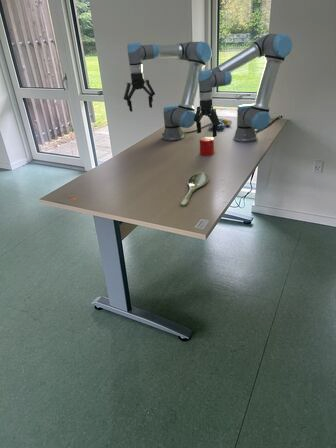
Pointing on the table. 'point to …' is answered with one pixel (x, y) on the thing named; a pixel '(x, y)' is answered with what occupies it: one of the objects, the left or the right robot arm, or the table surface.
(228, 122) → the spray gun
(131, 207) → the table surface
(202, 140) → the canister
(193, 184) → the spoon
